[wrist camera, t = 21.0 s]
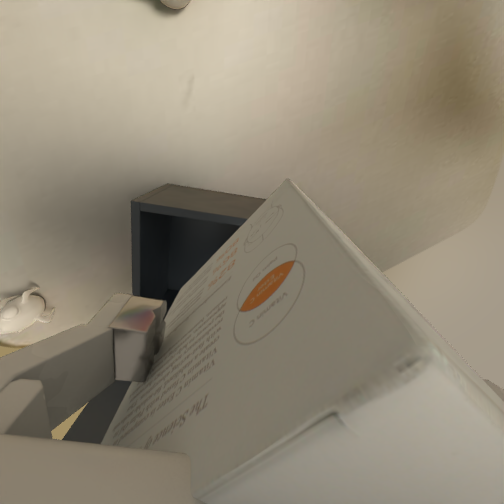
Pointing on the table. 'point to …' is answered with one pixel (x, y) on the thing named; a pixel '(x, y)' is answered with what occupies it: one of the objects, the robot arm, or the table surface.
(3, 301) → the white animal figurine
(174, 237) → the open box
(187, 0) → the rainbow fanned disc toy
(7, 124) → the table surface
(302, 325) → the small box
